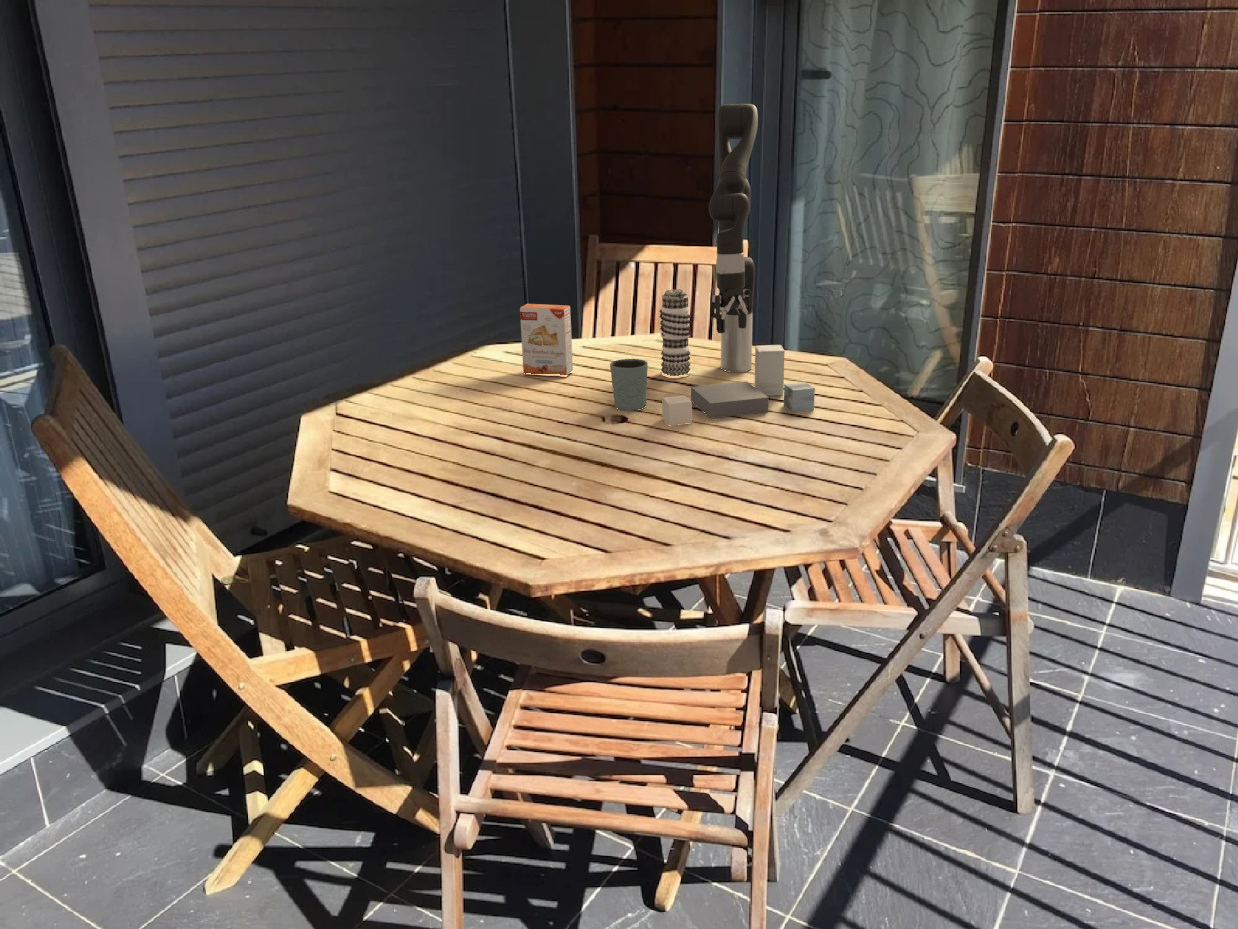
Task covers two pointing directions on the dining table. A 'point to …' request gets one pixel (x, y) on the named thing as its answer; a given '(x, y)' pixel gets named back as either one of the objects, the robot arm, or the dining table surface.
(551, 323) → the cracker box
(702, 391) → the plinth
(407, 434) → the dining table surface
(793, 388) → the grey cube
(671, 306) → the decorative candle
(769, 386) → the supplement box
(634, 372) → the green cup
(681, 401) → the white cube
